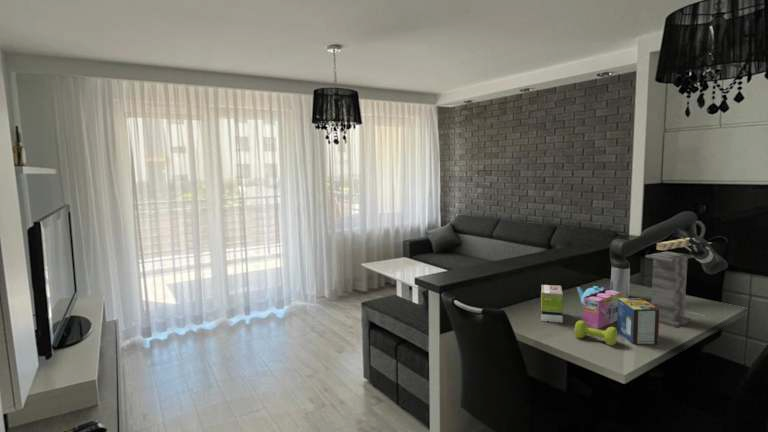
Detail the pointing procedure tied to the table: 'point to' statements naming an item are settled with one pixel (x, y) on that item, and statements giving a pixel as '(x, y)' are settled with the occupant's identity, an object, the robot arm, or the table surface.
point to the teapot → (588, 292)
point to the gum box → (601, 308)
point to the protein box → (638, 321)
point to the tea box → (551, 303)
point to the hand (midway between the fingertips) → (685, 239)
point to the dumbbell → (596, 332)
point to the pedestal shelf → (670, 286)
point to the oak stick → (673, 244)
